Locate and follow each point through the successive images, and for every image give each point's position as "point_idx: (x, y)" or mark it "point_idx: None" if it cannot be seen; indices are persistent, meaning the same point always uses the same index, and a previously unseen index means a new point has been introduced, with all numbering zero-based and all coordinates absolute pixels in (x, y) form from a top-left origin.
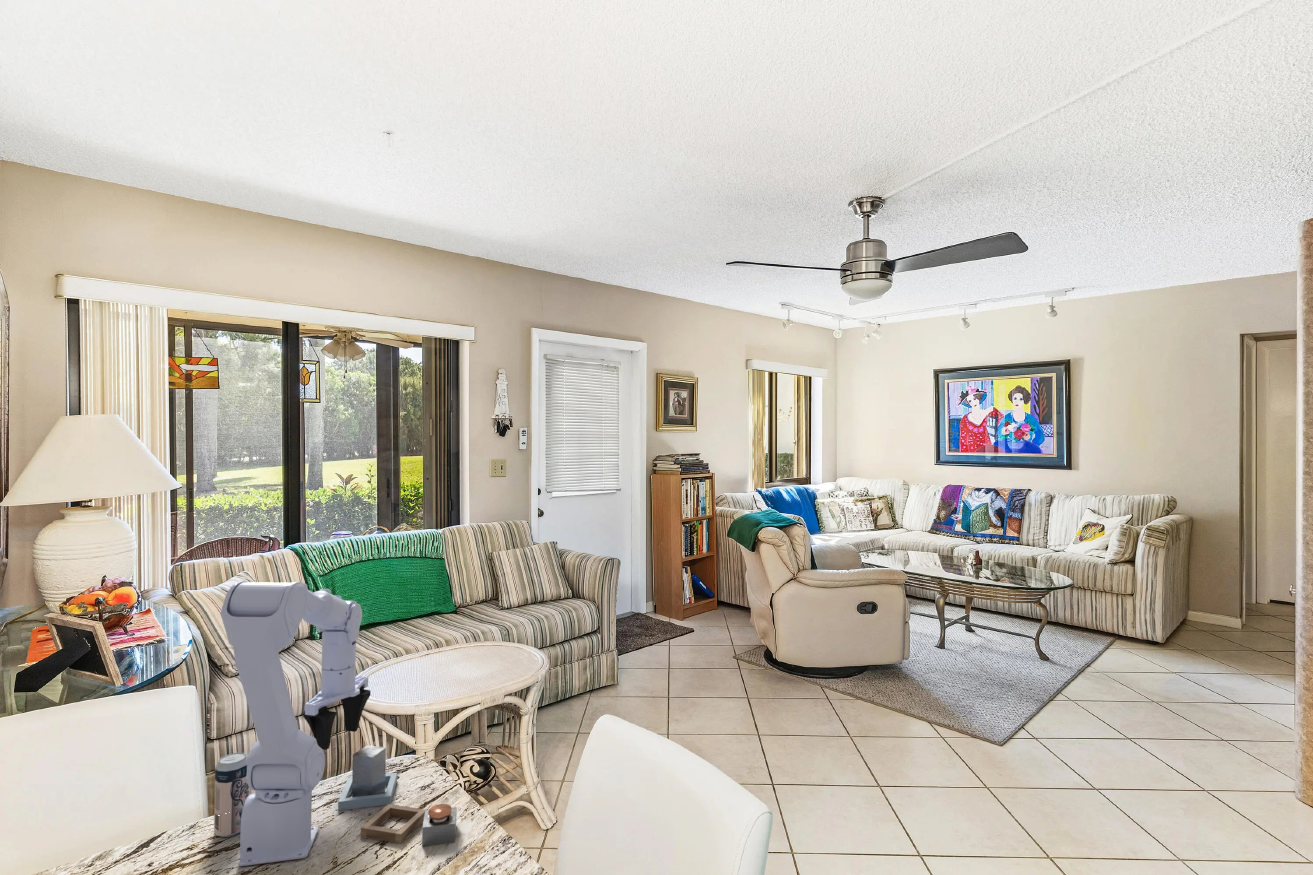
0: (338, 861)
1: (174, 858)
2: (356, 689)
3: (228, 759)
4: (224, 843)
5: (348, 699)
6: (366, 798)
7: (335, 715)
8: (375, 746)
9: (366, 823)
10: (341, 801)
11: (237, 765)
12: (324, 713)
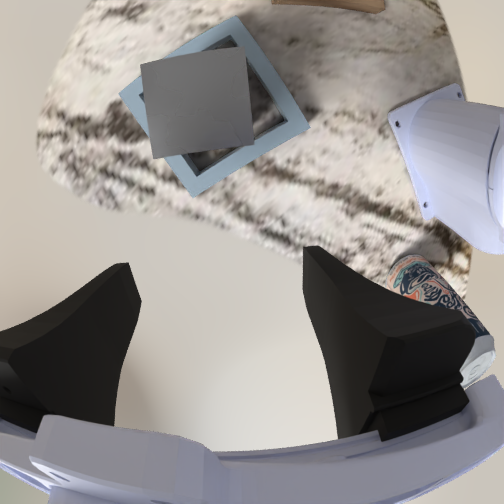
0: (441, 24)
1: (459, 283)
2: (64, 482)
3: (476, 372)
4: (434, 253)
5: (90, 408)
6: (270, 65)
7: (381, 327)
8: (149, 112)
9: (367, 4)
10: (306, 120)
11: (491, 342)
12: (427, 379)
